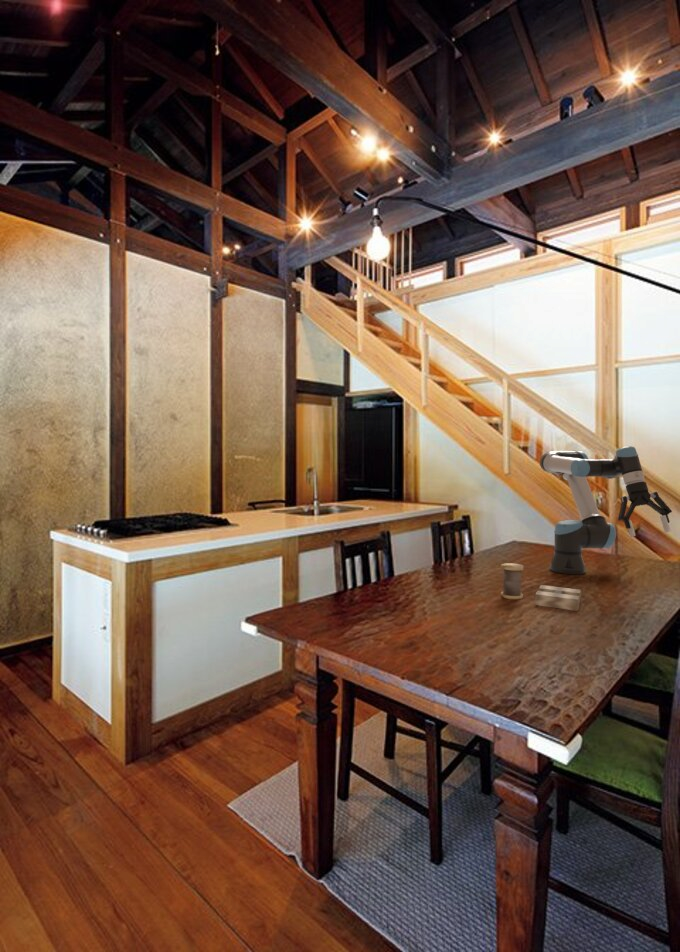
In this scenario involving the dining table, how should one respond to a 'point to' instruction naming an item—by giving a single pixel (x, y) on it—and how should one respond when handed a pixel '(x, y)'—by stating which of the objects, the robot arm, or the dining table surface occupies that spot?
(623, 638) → the dining table surface
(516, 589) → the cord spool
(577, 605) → the slotted stand
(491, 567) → the dining table surface
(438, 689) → the dining table surface
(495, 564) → the dining table surface
